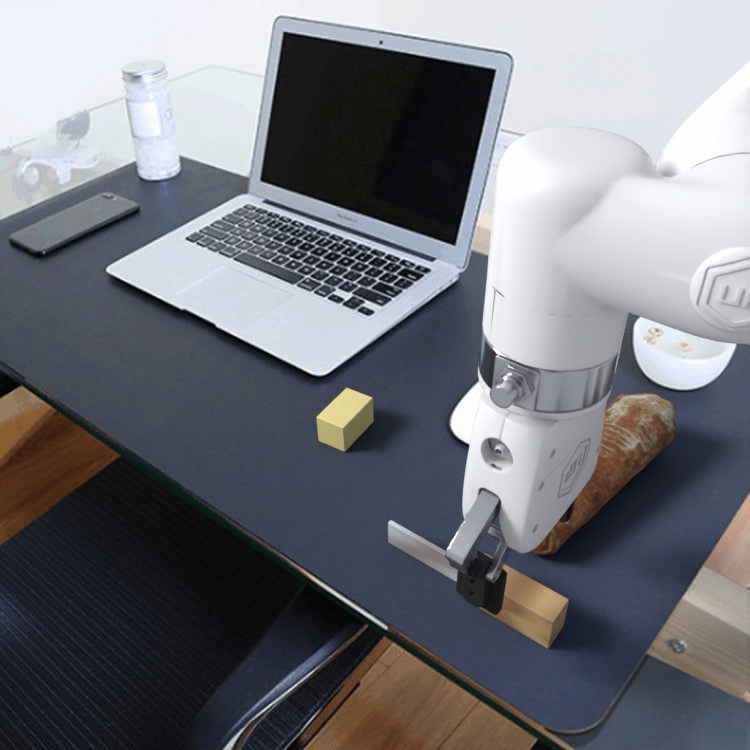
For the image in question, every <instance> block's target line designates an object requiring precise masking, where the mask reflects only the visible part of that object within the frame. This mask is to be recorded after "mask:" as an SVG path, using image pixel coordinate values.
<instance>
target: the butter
mask: <svg viewBox="0 0 750 750" xmlns="http://www.w3.org/2000/svg"><path fill="white" fill-rule="evenodd" d="M315 418H316V427H317V438H318V442H320V443H323V444H325V445H328V446H330V447H331V448H334V449H337V450H339V451H342V452H344V453H346V451H347V450H348V449H349V448H350V447H351V446H352V445H353V444H354V443H355V442H356V441H357V440H358V438H360V436H361V435H363V434H364V432H365V431H366V430H367V429H368V428H370V426H371V425H372V424H373V423H374V398H373V397H372V396H371V395H367V394H364V393H362V392H359V391H356V390H354V389H351V388H349V387H345V388H344V389H343V391H341V393H339V394H338V395H337V396H336V397H335V398H334V399H333V400H332V401H331V402H330V403H329V404H328V405H327V406H326V407H325V408H324V409H322V411H321V412H320V413H319V414H318V415H317V416H316V417H315Z"/></svg>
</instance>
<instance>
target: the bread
mask: <svg viewBox="0 0 750 750" xmlns="http://www.w3.org/2000/svg"><path fill="white" fill-rule="evenodd" d="M675 414H676V408H675V404H674V403H673V402H672V401H670V400H668V399H667V398H664V397H661V396H659V395H658V394H655V393H654V392H650V391H648V392H636V393H633V394H628V393H619V394H618V395H617V396H616V397H615V398H614V399H613V400H612V401H611V402H610V403H609V404H607V406H606V412H605V418H604V425H603V431H602V437H601V443H600V448H599V454H598V459H597V464H596V467H595V469H594V472H593V474H592V476H591V477H590V479H589V480H588V482H587V483H586V485H585V486H584V488H583V489H582V490H581V492H580V493H579V494H578V496H577V497H576V499H575V503H574V508H573V513H572V517H571V518H570V519H569V521H568V522H561V521H558V522H557V523H556V524H555V526H554V527H553V528H552V530H551V531H550V532H549V533H548V535H547V536H546V537H545V538H544V540H543V541H542V542H541V543H540V544H539V545H538V546H537V547H536V548H535V549H533V550H532V551H530V553H531V554H535V555H538V556H550V555H554V554H555V553H556V552H558V551H559V549H560V548H561V547H562V546H563V545H564V544H565V543H566V542H567V541H568V540H569V539H570V537H571V536H572V535H574V534H575V533H576V532H577V531H578V530H580V529H581V528H582V527H583V526H584V525H586V524H587V523H588V522H589V521H590V520H591V519H592V518H593V517H595V516H596V514H597V513H598V512H600V510H601V509H602V508H603V507H604V506H605V505H606V504H607V503H608V502H610V500H611V499H613V498H614V497H615V496H616V495H617V494H618V493H619V492H620V491H621V489H623V488H624V486H625V485H627V483H628V482H629V481H631V480H632V479H633V478H634V477H635V476H637V475H638V474H639V473H640V472H642V470H644V469H645V468H646V467H647V465H649V463H650V462H652V460H653V459H655V458H656V457H657V456H658V455H659V454H661V452H662V451H663V450H664V449H666V448H667V447H668V445H670V444H671V443H672V442H673V441H674V439H675V438H676V436H677V424H676V420H675Z"/></svg>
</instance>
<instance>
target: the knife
mask: <svg viewBox="0 0 750 750" xmlns="http://www.w3.org/2000/svg"><path fill="white" fill-rule="evenodd" d="M387 541H388V543H389V544H390V545H391V546H393V547H395V548H397V549H399V550H400V551H402V552H404V553H405V554H407V555H409V556H411V557H413V558H415V559H416V560H418V561H420V562H421V563H423V564H424V565H426V566H428V567H430V568H431V569H433V570H435V571H437V572H439V573H440V574H441V575H443V576H445V577H447V578H449V579H451V580H452V581H453V582H455V583H457V573H458V570H457V569H455V568H453V567H452V566H450V563H449V561H448V560H447V559H446V558H445V552H446V549H443V548H441V547H440V546H438V545H436V544H434V543H432V542H431V541H429V540H427V539H425V538H424V537H422V536H420V535H418V534H416V533H415V532H413V531H412V530H409V529H408V528H406V527H405V526H402V525H401V524H399V523H397V522H395V521H394V520H392V519H390V520H389V521H388V522H387ZM483 553H484V554H486V555H487V556H489V557H491V558H493V556H491V555H489V554H487V553H485V552H483ZM503 569H504V570H505V571H506V572H507V580H506V586H505V593H504V600H503V606H502V609H501V611H500V612H499V613H498V615H494V614H492V613H490V612H488V611H487V610H485V609H483V608H482V607H477V608H478V609H479V610H481V611H483V612H485V613H486V614H488V615H490V616H491V617H493V618H495V619H496V620H498V621H500V622H501V623H504V624H505V625H507V626H508V627H510V628H512V629H514V630H515V631H517V632H519V633H520V634H522V635H524V636H525V637H527V638H529V639H530V640H532V641H534V642H535V643H537V644H539V645H540V646H542V647H544V648H546V649H547V650H549V648H550V647H551V646H552V644H553V643H554V641H555V640H556V638H557V637H558V635H559V634H560V632H561V631H562V629H563V628H564V626H565V621H566V616H567V611H568V607H569V601H570V599H569V598H568V597H565V596H563V595H562V594H559V592H557V591H554V590H553V589H551V588H549V587H547V586H545V585H543V584H541V583H540V582H538V581H536V580H535V579H532V578H531V577H529V576H527V575H525V574H524V573H522V572H520V571H518V570H516V569H514V568H513V567H511V566H509V565H507V564H505V565H504V567H503Z"/></svg>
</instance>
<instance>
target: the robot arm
mask: <svg viewBox="0 0 750 750" xmlns="http://www.w3.org/2000/svg"><path fill="white" fill-rule="evenodd" d="M491 214H492V215H491V227H490V235H489V237H490V238H489V247H488V248H489V249H488V257H487V270H486V284H485V294H484V302H483V303H484V304H483V312H482V324H481V335H480V345H479V346H480V347H479V357H478V367H477V377H478V382H479V385H480V386H481V388H482V391H481V393H480V396H479V401H478V403H477V407H476V408H477V409H476V412H475V417H474V421H473V426H472V431H471V434H470V435H471V436H470V441H469V445H468V452H467V458H466V464H465V469H464V470H465V471H464V478H463V487H462V500H461V503H462V504H461V506H462V509H461V510H462V515H463V521H462V522H461V524H460V526H459V527H458V529H457V530H456V533H455V534H454V536H453V538H452V539H451V541H450V542H449V544H448V546H447V548H446V549H445V551H446V552H445V558H446V559H447V560H448V561H449V563H450V566H452V567H453V568H455V569H457V570H458V573H457V582H456V586H455V589H456V592H457V593H458V594H459V595H460V596H462V598H463V599H464V600H465V601H466V602H468V604H470V605H472V606H474V607H475V608H478V607H482V608H483V609H485V610H487V611H488V612H490V613H492V614H494V615H498V613H499V612H500V611H501V609H502V606H503V600H504V593H505V586H506V580H507V572H506V571H505V570H504V569H503V567H504V565H506V563H507V560H508V557H509V556H510V553H511V551H512V550H513V551H515V552H517V553H519V554H527V553H529V552H530V551H532V550H533V549H535V548H536V547H537V546H538V545H539V544H540V543H541V542H542V541H543V540H544V538H545V537H546V536H547V535H548V533H549V532H550V531H551V530H552V528H553V527H554V526H555V524H556V523H557V522H558V521H561V522H568V521H569V519H570V518H571V517H572V513H573V508H574V503H575V499H576V497H577V496H578V494H579V493H580V492H581V490H582V489H583V488H584V486H585V485H586V483H587V482H588V480H589V479H590V477H591V476H592V474H593V472H594V469H595V467H596V464H597V459H598V454H599V448H600V443H601V437H602V431H603V425H604V418H605V412H606V407H607V406H608V399H609V397H610V396H611V392H612V389H613V384H614V380H615V376H616V371H617V368H618V367H617V366H618V361H619V359H620V354H621V348H622V344H623V343H622V342H623V339H624V334H625V329H626V325H627V321H628V317H629V314H631V315H634V316H637V317H640V318H642V319H645V320H648V321H651V322H654V323H657V324H660V325H662V326H665V327H668V328H671V329H673V330H676V331H679V332H682V333H685V334H688V335H691V336H694V337H697V338H702V339H705V340H710V341H714V342H719V343H724V344H725V343H726V344H735V345H750V60H749V61H748V62H747V63H746V64H744V65H743V66H742V67H741V68H740V69H739V70H738V71H736V72H735V74H733V75H732V76H731V77H730V78H729V79H728V80H727V81H726V82H725V83H723V84H722V85H721V86H720V87H719V88H718V89H717V90H716V91H715V92H713V93H712V94H711V95H710V96H709V97H708V98H707V99H706V100H704V102H703V103H701V105H700V106H699V107H698V108H697V109H695V110H694V111H693V112H692V113H691V114H690V115H689V116H688V117H687V118H686V119H685V120H684V121H683V123H681V125H680V126H679V127H678V129H676V131H675V132H674V133H673V135H672V136H671V138H670V139H669V140H668V142H667V144H666V145H665V147H664V149H663V150H662V152H661V154H660V156H659V158H658V161H657V163H656V165H655V163H654V161H653V159H652V157H651V155H650V154H649V153H648V151H646V149H645V148H643V147H642V145H640V144H638V143H637V142H636V141H635V140H632V139H631V138H629V137H626V136H624V135H621V134H619V133H615V132H612V131H610V130H609V131H608V130H604V129H599V128H594V127H587V126H586V127H585V126H554V127H547V128H542V129H541V128H540V129H538V130H534V131H531V132H528V133H526V134H524V135H523V136H521V137H519V138H517V139H516V140H514V141H513V142H512V143H511V144H510V145H509V146H508V147H507V148H506V149H505V151H504V152H503V155H502V157H500V161H499V164H498V166H497V169H496V177H495V183H494V194H493V204H492V213H491ZM498 515H499V516H498ZM496 518H498V523H499V524H497V523H496V522H495V521H496ZM487 535H489V536H491V537H492V538H494V539H496V540H498V541H499V542H498V544H497V546H496V549H495V552H494V554H493V556H491V557H493V558H491V557H489V556H490V555H489V556H487V555H488V554H487V553H485V552H482V551H481V550H479V548H480V546H481V544H482V542H483V541H484V539H485V537H486V536H487ZM484 553H485V554H484ZM530 553H531V552H530ZM486 554H487V555H486Z"/></svg>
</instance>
